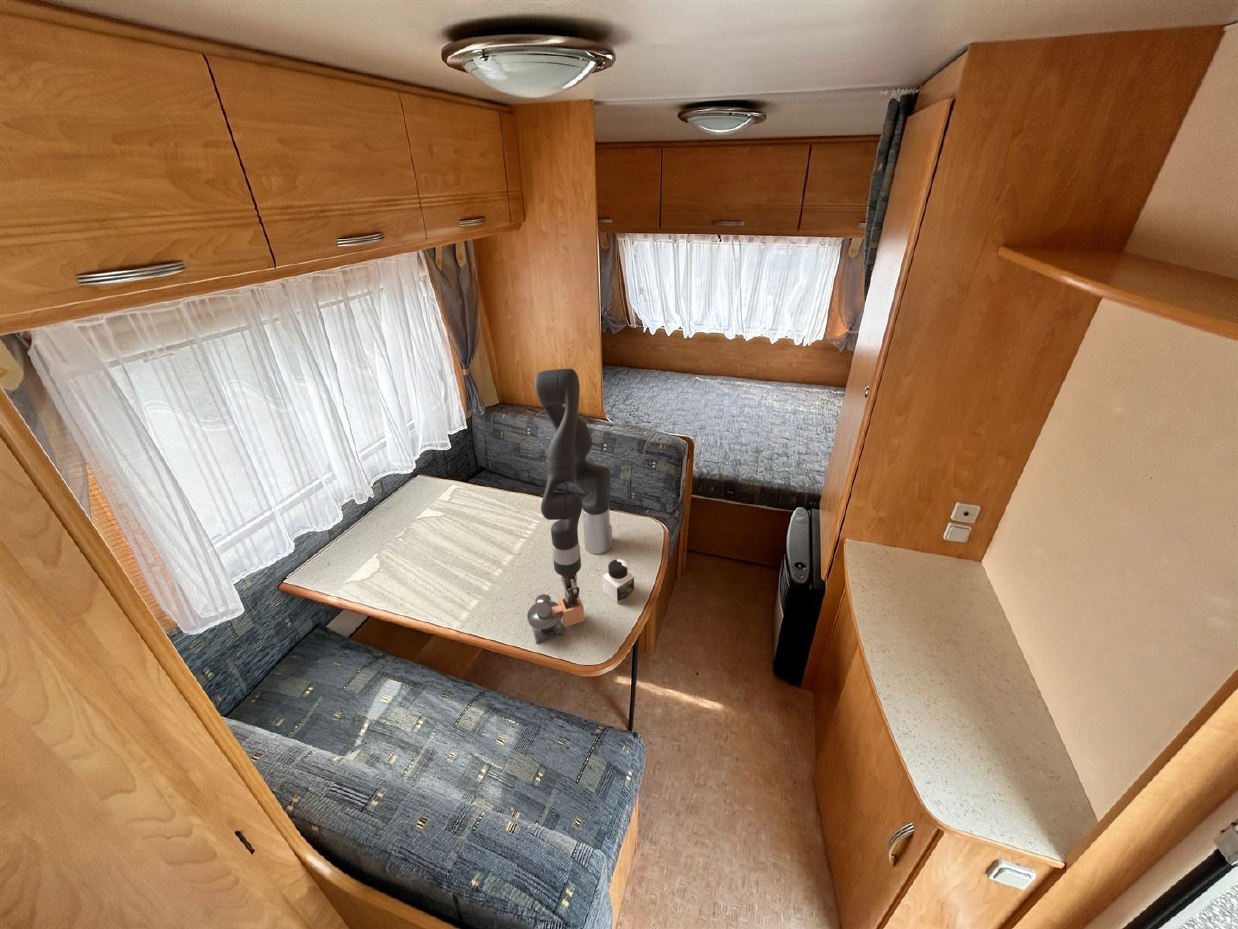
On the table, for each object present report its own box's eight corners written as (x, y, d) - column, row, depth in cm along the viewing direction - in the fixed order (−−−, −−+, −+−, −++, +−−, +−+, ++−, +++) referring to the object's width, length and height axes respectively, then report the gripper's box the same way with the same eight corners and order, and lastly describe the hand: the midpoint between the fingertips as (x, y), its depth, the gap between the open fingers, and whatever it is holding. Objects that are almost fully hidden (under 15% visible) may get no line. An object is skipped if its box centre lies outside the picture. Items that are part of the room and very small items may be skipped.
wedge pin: (574, 603, 153) (572, 576, 147) (577, 610, 151) (575, 583, 145) (564, 606, 152) (562, 579, 146) (567, 613, 150) (564, 586, 144)
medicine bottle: (617, 604, 160) (616, 575, 154) (603, 592, 164) (601, 563, 158) (634, 593, 164) (634, 564, 157) (619, 581, 168) (619, 553, 162)
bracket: (578, 607, 156) (577, 592, 153) (584, 621, 152) (583, 606, 149) (550, 615, 154) (548, 601, 151) (555, 629, 149) (553, 615, 146)
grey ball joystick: (558, 612, 157) (555, 583, 151) (567, 636, 149) (564, 607, 143) (526, 621, 154) (522, 592, 148) (533, 647, 146) (529, 617, 140)
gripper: (587, 567, 136) (590, 613, 145) (572, 536, 147) (576, 580, 156) (559, 575, 134) (564, 621, 143) (547, 542, 145) (552, 587, 154)
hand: (570, 599), depth 150 cm, fingers closed on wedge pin, 3 cm apart
